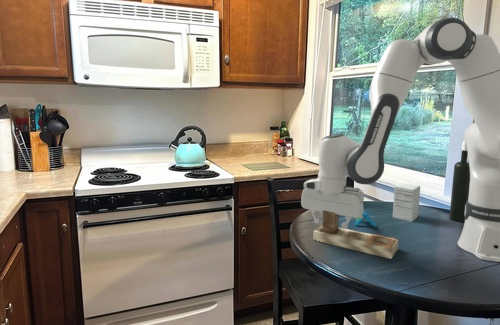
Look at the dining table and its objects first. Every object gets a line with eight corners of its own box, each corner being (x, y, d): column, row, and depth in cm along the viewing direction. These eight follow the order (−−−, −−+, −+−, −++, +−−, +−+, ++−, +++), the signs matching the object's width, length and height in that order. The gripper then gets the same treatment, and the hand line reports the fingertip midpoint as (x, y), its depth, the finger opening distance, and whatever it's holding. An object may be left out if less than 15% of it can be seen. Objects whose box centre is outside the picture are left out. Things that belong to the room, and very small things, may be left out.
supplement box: (399, 213, 139) (401, 182, 137) (418, 217, 134) (421, 185, 132) (391, 217, 134) (393, 186, 132) (411, 222, 129) (414, 189, 126)
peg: (338, 238, 115) (339, 209, 113) (333, 242, 111) (334, 212, 110) (326, 235, 117) (327, 207, 115) (322, 239, 114) (322, 210, 112)
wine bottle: (463, 223, 127) (471, 142, 121) (446, 219, 131) (454, 141, 126) (469, 219, 130) (477, 141, 125) (452, 216, 135) (460, 139, 129)
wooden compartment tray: (397, 249, 106) (398, 238, 105) (391, 258, 99) (392, 248, 99) (323, 232, 120) (323, 223, 119) (313, 240, 113) (313, 230, 113)
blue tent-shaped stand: (379, 227, 119) (359, 206, 121) (366, 238, 120) (346, 217, 122) (376, 221, 130) (357, 201, 131) (363, 231, 131) (345, 211, 132)
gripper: (367, 186, 107) (365, 228, 110) (307, 178, 119) (307, 217, 122) (361, 191, 102) (358, 235, 105) (299, 182, 114) (298, 222, 117)
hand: (330, 225), depth 113 cm, fingers open, 8 cm apart
